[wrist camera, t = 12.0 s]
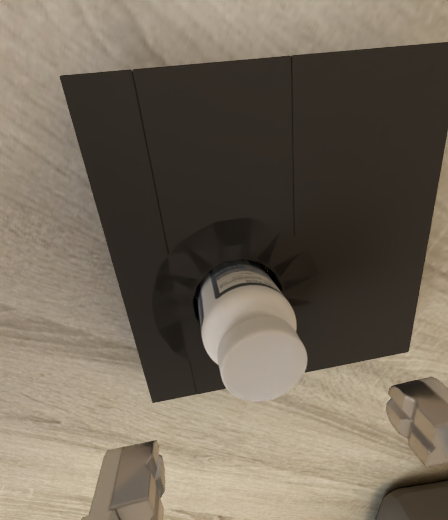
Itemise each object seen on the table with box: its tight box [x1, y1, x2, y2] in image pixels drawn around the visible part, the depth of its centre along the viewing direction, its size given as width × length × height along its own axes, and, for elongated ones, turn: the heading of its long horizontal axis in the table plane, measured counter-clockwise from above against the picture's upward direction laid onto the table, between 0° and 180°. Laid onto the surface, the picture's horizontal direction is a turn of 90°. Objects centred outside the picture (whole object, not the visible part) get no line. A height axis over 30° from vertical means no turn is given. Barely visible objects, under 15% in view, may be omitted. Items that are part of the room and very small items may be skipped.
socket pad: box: [60, 42, 448, 403], centre depth 18 cm, size 20×20×3 cm
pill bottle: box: [197, 259, 307, 402], centre depth 16 cm, size 5×5×9 cm
